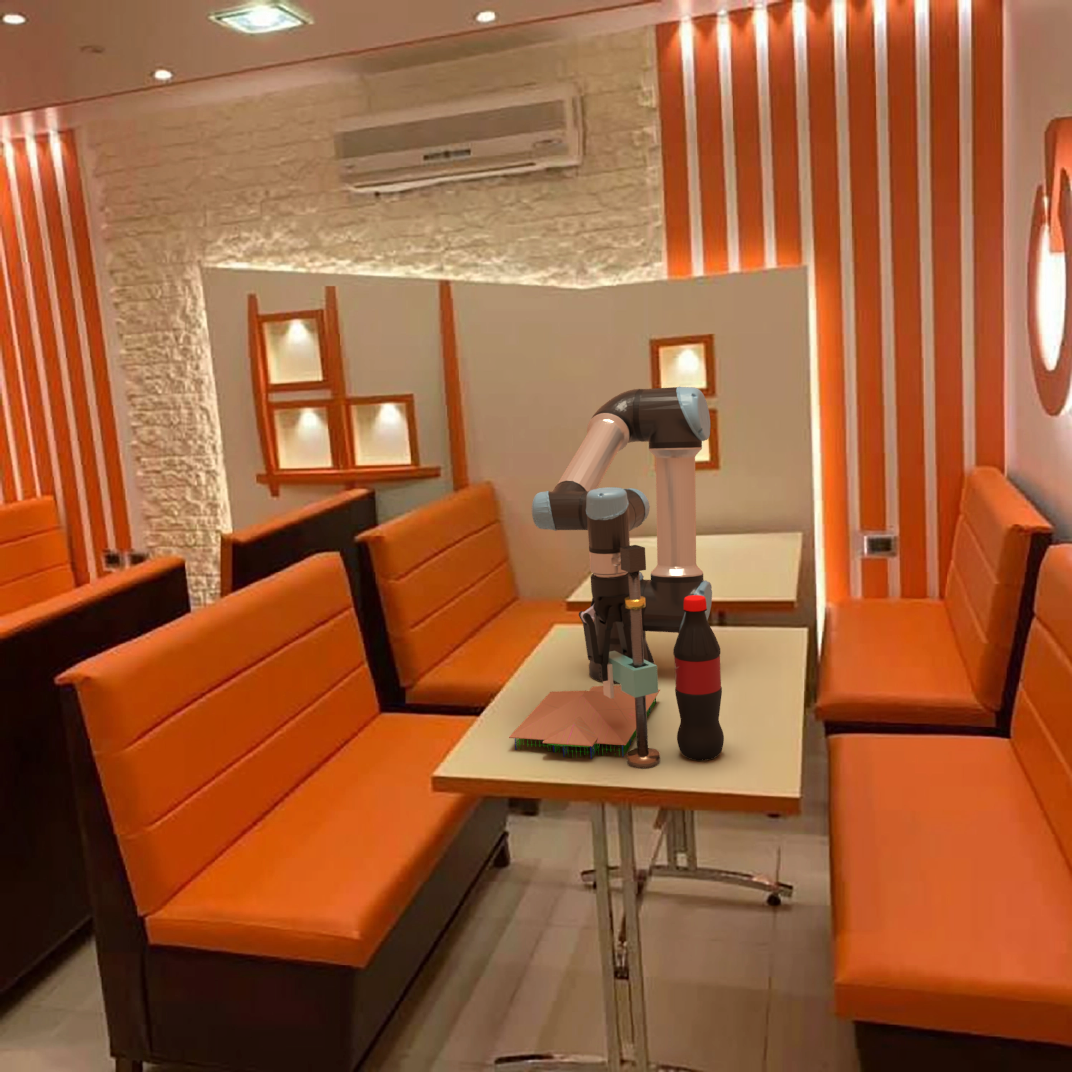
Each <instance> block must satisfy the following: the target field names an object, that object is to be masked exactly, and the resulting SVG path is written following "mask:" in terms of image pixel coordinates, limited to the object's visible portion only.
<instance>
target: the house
mask: <svg viewBox="0 0 1072 1072" xmlns="http://www.w3.org/2000/svg"><path fill="white" fill-rule="evenodd" d="M660 692H661V689H659V688H658V692H657V693H653V694H649V695H646V712H647V717H648V718H649V715H650V714H651V709H652V708H653V709H654V708H655V703H656V704H657V696H658V694H659V693H660ZM649 713H650V714H649ZM508 738H509V739H514V745H515V746H514V747H515V748H514V749H515V751H517V749H518V748H517V746H518V747H521V744H525V740H526V741H527V743H526V745H527V746H537V740H538V743H539V744H538V746H541V741H542V746H543V747H550V750H552V751H553V753H557V751H558V750H559V751H558V753H559V754H560V753H561V749H560V748H562V752H563V754H562V755H563V758H565V757H566V754H567V757H568V758H569V757H570V756H569V755H570V754H569V753H568V752H569V749H568V747H575V748H577V747H579V751H578V750H577V749H575V756H576V758H578V755H577V753H578V752H580V753H579V755H580V756H582V754H581V753H582V752H583V753H584V754H589V753H590V760H592V759H593V757H594V756H595V755H596V751H597V752H598V753H597V754H598V755H600V752H599V751H600V748H601V751H602V753H601V754H602V755H604V752H603V751H604V747H603V746H600V745H605V750H606V752H608V751H612V750H613V751H614V748H613V749H612V745H614V746H621V749H617V751H618V756H619V758H620V757H622V758H624V756H625V753H626V754H627V752H628V751H629V750H628V748H629V747H630V746H632V743H633V742H634V740H635V739H636V738H637V734H636V715H635V697H633V696H631V695H628V694H626V693H624V692H622V691H621V685H617V684H616V685H614V698H611V699H610V698H609V697H607V696H605V695H604V691H603V685H596V686H595V685H594V686H591V688H590V689H589V690H565V691H563V690H562V691H550V692H549V693H548V694H546V696H545V697H544V698H543V699H542V701H540V703H539V704H538V705H537V706H536V707H535V708H534V709H533V710H532V711H531V713H529V715H528V716H527V717H526V718H524V720H523V721H522V722H521V723H520V724H519V726H518V727H517V728H516V729H515V730H514V731H513V732H512V733H511V734H510V735H509V737H508ZM634 738H635V739H634ZM633 739H634V740H633ZM529 740H530V742H531V744H529ZM533 740H535V741H534V742H535V743H533ZM607 745H609V746H610V749H609V748H608V746H607ZM551 747H552V748H551ZM581 748H583V749H584V750H583V751H582V750H581ZM585 748H586V749H587V751H586V749H585ZM589 748H590V749H589ZM597 749H598V750H597ZM620 751H621V753H620ZM573 752H574V751H571V753H572V755H571V756H572V758H574V755H573ZM620 754H621V755H622V756H621V755H620ZM615 756H617V755H616V754H614V757H615Z"/></svg>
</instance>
